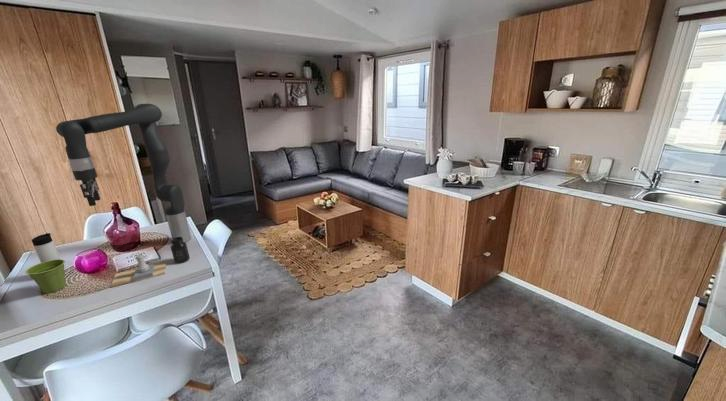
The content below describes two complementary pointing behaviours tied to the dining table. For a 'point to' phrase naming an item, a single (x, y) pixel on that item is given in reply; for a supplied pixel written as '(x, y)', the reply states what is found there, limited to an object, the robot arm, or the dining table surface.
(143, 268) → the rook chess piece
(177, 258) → the supplement bottle
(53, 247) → the travel mug
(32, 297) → the dining table surface
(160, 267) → the mat
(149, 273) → the grey picture frame
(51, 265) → the plant pot
